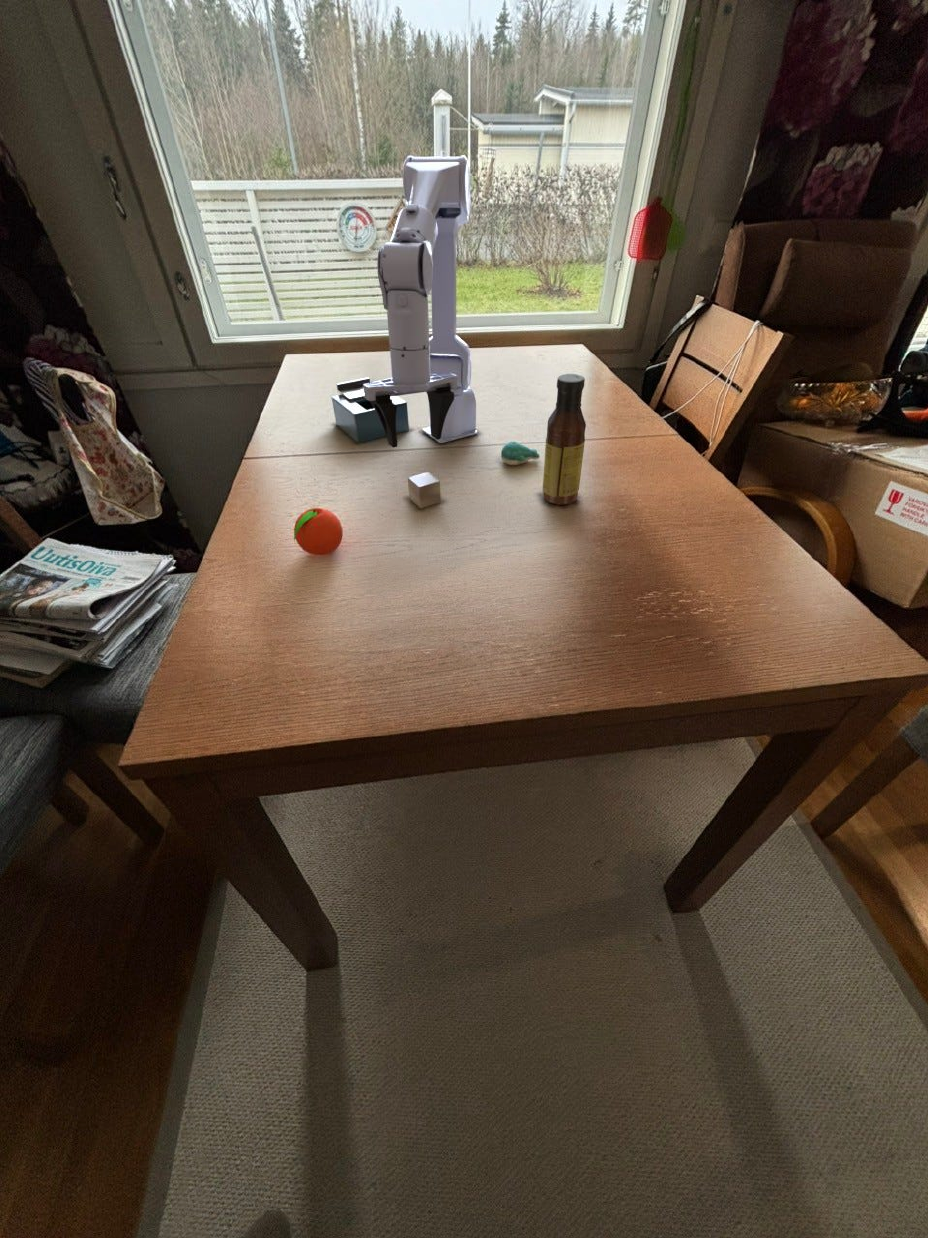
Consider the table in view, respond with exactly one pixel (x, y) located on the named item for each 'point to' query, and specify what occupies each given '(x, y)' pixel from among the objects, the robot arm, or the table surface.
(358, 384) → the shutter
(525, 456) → the whale figurine
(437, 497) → the block
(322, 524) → the clementine
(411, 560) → the table surface
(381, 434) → the sliding lid box
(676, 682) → the table surface
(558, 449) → the sauce bottle
